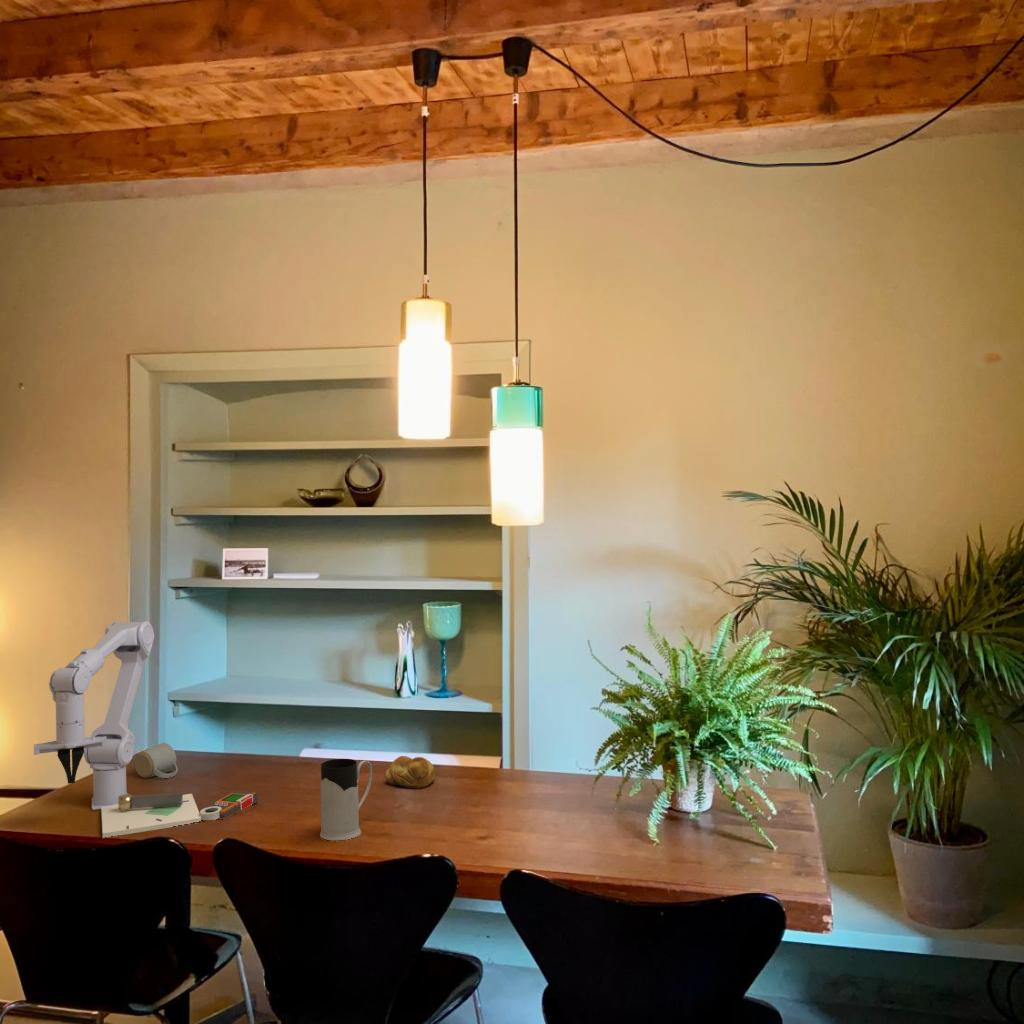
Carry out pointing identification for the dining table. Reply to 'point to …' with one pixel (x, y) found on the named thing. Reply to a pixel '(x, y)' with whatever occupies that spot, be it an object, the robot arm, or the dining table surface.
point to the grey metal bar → (149, 800)
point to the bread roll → (410, 772)
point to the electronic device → (228, 805)
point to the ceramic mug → (156, 761)
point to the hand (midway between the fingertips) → (71, 782)
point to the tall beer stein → (341, 798)
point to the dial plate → (148, 817)
